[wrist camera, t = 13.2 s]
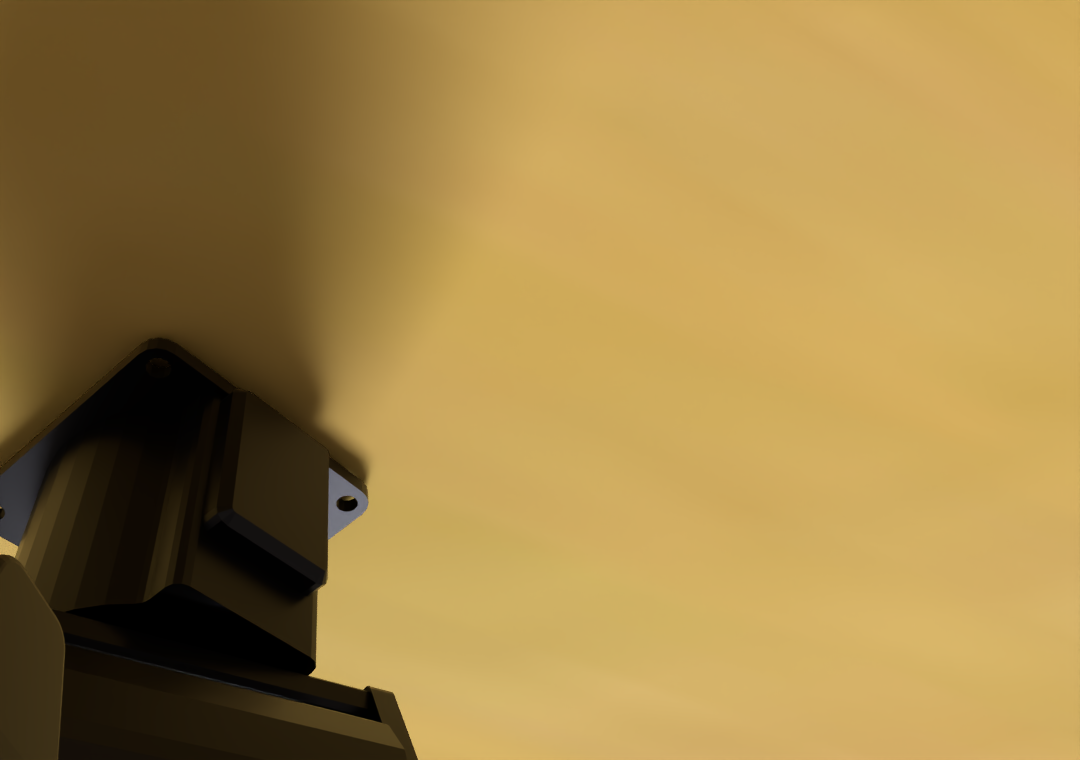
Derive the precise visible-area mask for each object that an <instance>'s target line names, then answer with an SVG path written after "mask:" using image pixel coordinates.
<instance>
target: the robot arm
mask: <svg viewBox="0 0 1080 760" xmlns="http://www.w3.org/2000/svg"><path fill="white" fill-rule="evenodd" d="M153 358H161V359H164V360H166V361H167V362H168V363H169V364H170V366H168V367H157V366H155V365H153V364H152V363H151V362H150V361H149V360H151V359H153ZM342 496H352V497H355V498H354V499H352V500H342V499H339V498H340V497H342ZM0 506H1V507H2V509H0V537H2V538H4V539H6V540H8V541H9V542H11V543H13V544H15V545H17V546H19V547H18V550H17V553H16V556H15V558H14V557H12V556H10V555H0V760H418V758H417V756H416V753H415V750H414V747H413V745H412V742H411V739H410V737H409V734H408V731H407V729H406V726H405V723H404V720H403V718H402V715H401V712H400V710H399V707H398V704H397V701H396V699H395V696H394V694H393V693H392V692H389V691H385V690H381V689H378V688H374V687H370V686H367V687H366V688H365V689H364V690H361V689H357V688H353V687H350V686H346V685H342V684H338V683H334V682H331V681H327V680H323V679H319V678H315V677H311V676H308V675H309V674H311V673H312V672H313V671H314V669H315V668H316V635H317V592H318V589H319V588H321V587H322V586H324V585H325V584H326V582H327V579H328V540H329V539H330V538H331V537H333V536H334V535H335V534H337V533H338V532H339V531H341V530H342V529H343V528H344V527H346V526H347V525H348V524H350V523H351V522H352V521H354V520H355V519H356V518H358V517H359V516H360V515H362V514H363V513H364V511H365V510H366V509H367V506H368V490H367V486H366V485H365V484H364V483H363V482H362V481H361V480H360V479H359V478H357V477H356V476H354V475H353V474H352V473H350V472H349V471H348V470H346V469H345V468H344V467H342V466H341V465H340V464H338V463H337V462H336V461H334V460H333V459H332V458H330V457H329V452H328V450H327V449H326V448H325V447H323V446H322V445H321V444H319V443H318V442H317V441H315V440H314V439H313V438H311V437H310V436H309V435H307V434H306V433H305V432H303V431H302V430H301V429H299V428H298V427H297V426H295V425H294V424H293V423H291V422H290V421H289V420H287V419H286V418H285V417H283V416H282V415H281V414H279V413H278V412H277V411H275V410H274V409H273V408H271V407H270V406H269V405H267V404H266V403H265V402H263V401H262V400H261V399H259V398H258V397H257V396H255V395H254V394H253V393H251V392H250V391H246V390H241V389H237V388H236V387H235V386H233V385H232V384H231V383H229V382H228V381H227V380H225V379H224V378H223V377H221V376H220V375H219V374H217V373H216V372H215V371H213V370H212V369H210V368H209V367H208V366H206V365H205V364H204V363H202V362H201V361H200V360H198V359H197V358H196V357H194V356H193V355H192V354H190V353H189V352H188V351H186V350H185V349H184V348H182V347H181V346H180V345H178V344H177V343H175V342H173V341H171V340H169V339H163V338H154V339H149V340H147V341H146V342H144V343H142V344H141V345H140V346H139V347H137V348H136V349H135V350H134V351H133V352H132V353H131V354H129V355H128V356H127V357H126V358H125V359H124V360H123V361H122V362H120V363H119V364H118V365H117V366H116V367H115V368H114V369H112V370H111V371H110V372H109V373H108V374H107V375H106V376H105V377H103V378H102V379H101V380H100V381H99V382H98V383H97V384H95V385H94V386H93V387H92V388H91V389H90V390H89V391H88V392H86V393H85V394H84V395H83V396H82V397H81V398H80V399H78V400H77V401H76V402H75V403H74V404H73V405H72V406H71V407H69V408H68V409H67V410H66V411H65V412H64V413H63V414H61V415H60V416H59V417H58V418H57V419H56V420H55V421H53V422H52V423H51V424H50V425H49V426H48V427H47V428H46V429H44V430H43V431H42V432H41V433H40V434H39V435H38V436H36V437H35V438H34V439H33V440H32V441H31V442H30V443H29V444H27V445H26V446H25V447H24V448H23V449H22V450H21V451H19V452H18V453H17V454H16V455H15V456H14V457H13V458H12V459H10V460H9V461H8V462H7V463H6V464H5V465H4V466H2V467H1V468H0Z"/></svg>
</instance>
